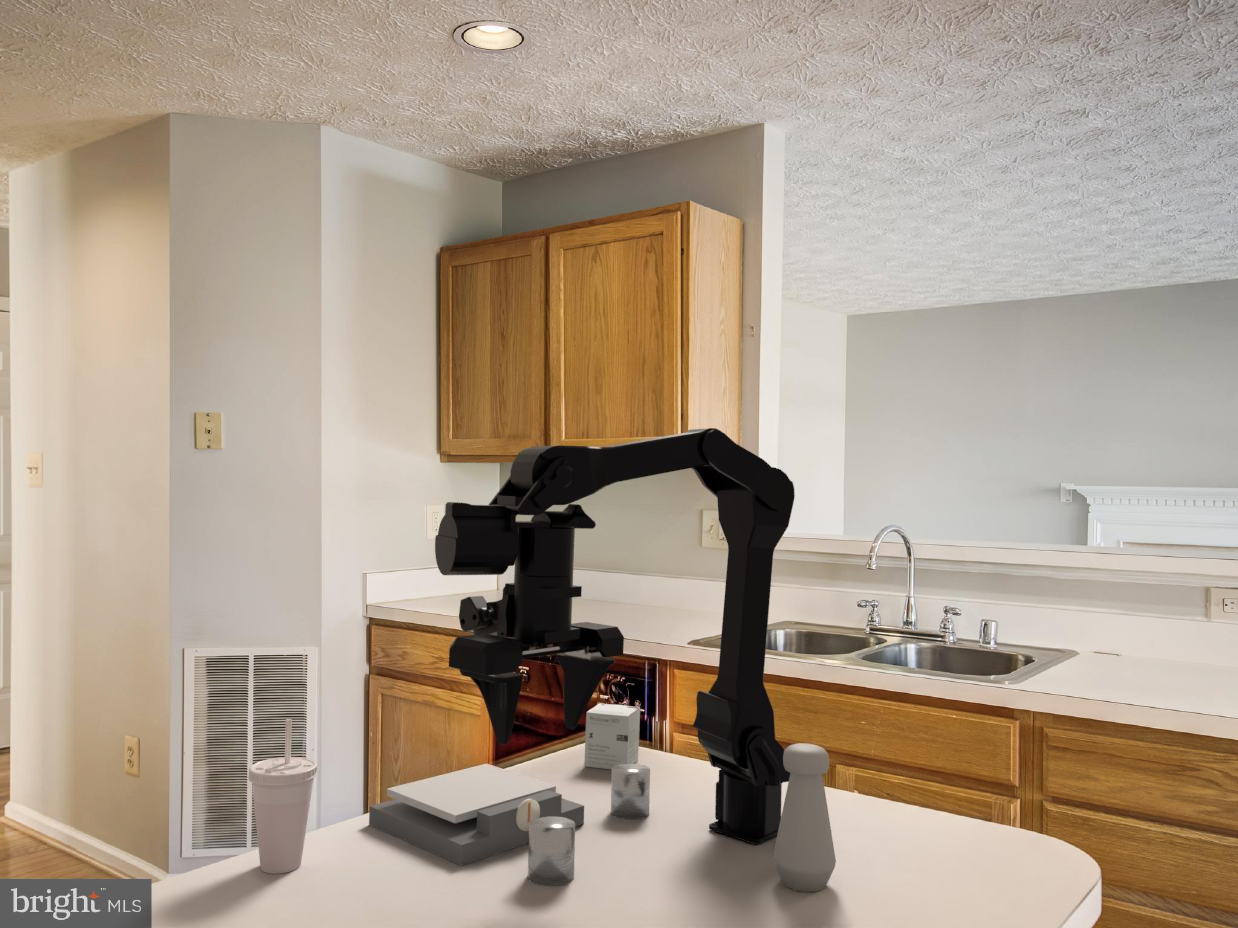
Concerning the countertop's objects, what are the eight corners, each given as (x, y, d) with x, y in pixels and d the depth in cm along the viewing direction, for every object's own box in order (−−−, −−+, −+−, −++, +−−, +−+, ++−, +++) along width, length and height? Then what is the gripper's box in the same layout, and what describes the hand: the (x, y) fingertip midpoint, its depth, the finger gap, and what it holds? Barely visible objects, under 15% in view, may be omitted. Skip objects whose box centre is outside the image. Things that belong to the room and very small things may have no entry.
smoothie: (329, 860, 98) (333, 717, 98) (281, 884, 92) (286, 732, 92) (279, 849, 100) (283, 710, 101) (230, 871, 95) (234, 723, 95)
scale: (586, 824, 109) (587, 782, 109) (463, 866, 97) (464, 819, 97) (490, 790, 120) (491, 752, 121) (369, 824, 108) (370, 781, 108)
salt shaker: (840, 897, 92) (842, 755, 92) (777, 895, 92) (780, 753, 92) (828, 872, 97) (830, 739, 98) (769, 870, 97) (772, 737, 98)
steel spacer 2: (657, 813, 114) (658, 769, 114) (631, 822, 111) (632, 777, 111) (628, 803, 117) (629, 761, 117) (602, 812, 114) (603, 768, 114)
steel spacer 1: (583, 876, 95) (584, 824, 95) (550, 890, 92) (551, 835, 92) (551, 863, 98) (553, 813, 98) (518, 876, 95) (519, 823, 95)
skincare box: (583, 767, 131) (584, 711, 131) (597, 755, 137) (598, 701, 137) (627, 772, 130) (629, 715, 130) (639, 759, 136) (640, 705, 136)
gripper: (551, 564, 109) (546, 707, 109) (414, 571, 95) (407, 735, 94) (629, 573, 102) (624, 726, 101) (493, 581, 88) (486, 760, 87)
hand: (537, 735), depth 96 cm, fingers open, 9 cm apart
